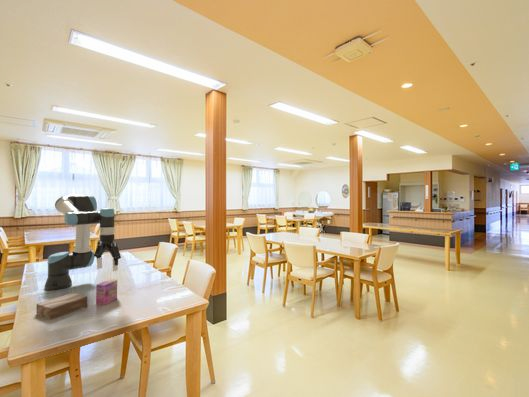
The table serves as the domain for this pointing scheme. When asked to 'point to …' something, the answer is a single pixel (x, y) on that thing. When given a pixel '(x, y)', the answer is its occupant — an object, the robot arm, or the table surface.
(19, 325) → the table surface
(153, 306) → the table surface
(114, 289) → the box
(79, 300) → the block
